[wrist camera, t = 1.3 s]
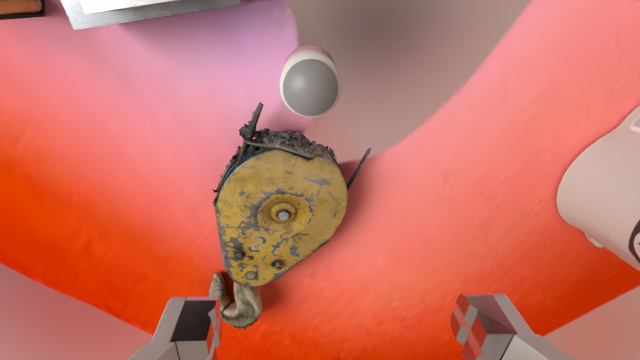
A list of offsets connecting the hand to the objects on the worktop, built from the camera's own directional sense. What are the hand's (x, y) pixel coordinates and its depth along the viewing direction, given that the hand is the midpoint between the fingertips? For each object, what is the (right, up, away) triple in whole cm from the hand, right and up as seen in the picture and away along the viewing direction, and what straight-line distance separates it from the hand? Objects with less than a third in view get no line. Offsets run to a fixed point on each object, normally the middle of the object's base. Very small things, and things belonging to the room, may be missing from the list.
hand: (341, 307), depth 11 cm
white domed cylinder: (-2, +14, +20) cm, 25 cm away
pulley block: (-8, -1, +29) cm, 30 cm away
